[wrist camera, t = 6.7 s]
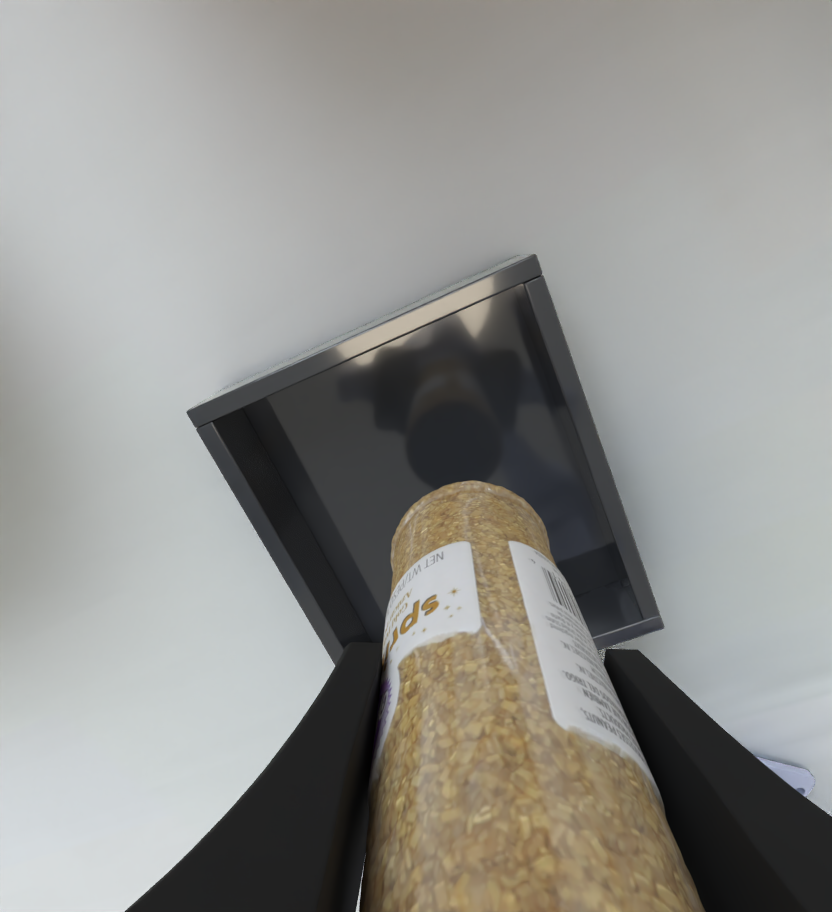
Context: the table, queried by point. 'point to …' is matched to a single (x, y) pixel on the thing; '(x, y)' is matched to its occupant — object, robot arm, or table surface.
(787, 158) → the table surface
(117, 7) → the table surface
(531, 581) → the sprinkles bottle
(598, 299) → the table surface
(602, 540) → the dark gray square tray
